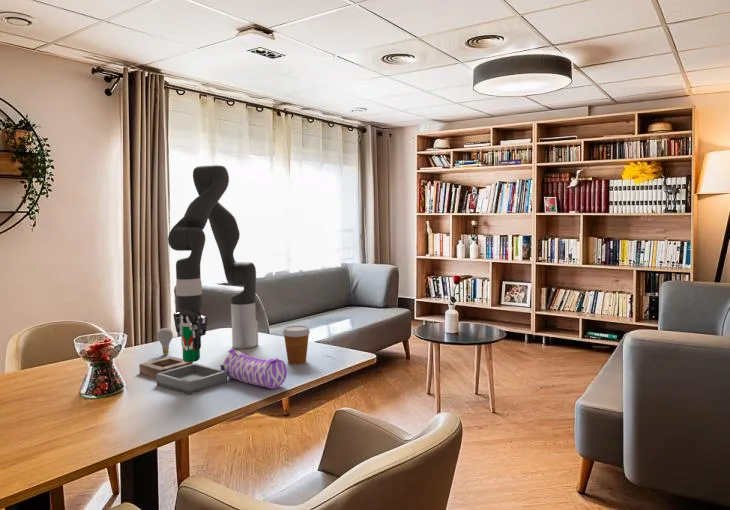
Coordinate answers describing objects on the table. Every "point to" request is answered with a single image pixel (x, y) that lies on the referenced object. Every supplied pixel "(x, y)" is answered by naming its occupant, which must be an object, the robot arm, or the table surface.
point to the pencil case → (255, 369)
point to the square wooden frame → (162, 365)
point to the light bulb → (165, 339)
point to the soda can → (189, 344)
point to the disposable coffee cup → (296, 343)
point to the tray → (192, 378)
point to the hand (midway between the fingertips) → (191, 347)
